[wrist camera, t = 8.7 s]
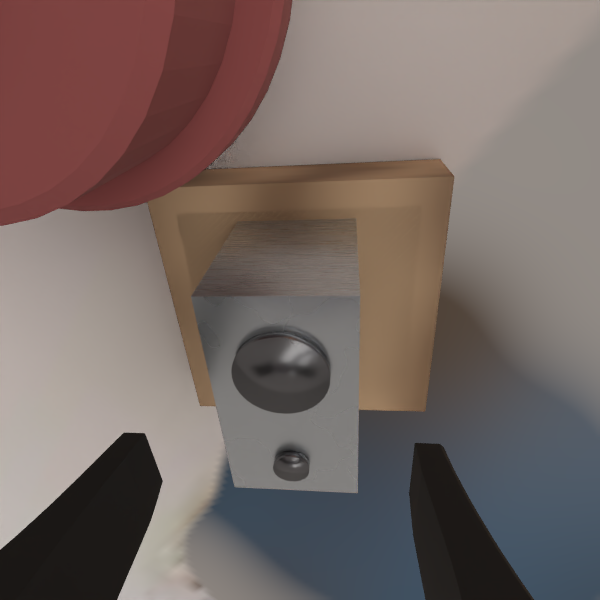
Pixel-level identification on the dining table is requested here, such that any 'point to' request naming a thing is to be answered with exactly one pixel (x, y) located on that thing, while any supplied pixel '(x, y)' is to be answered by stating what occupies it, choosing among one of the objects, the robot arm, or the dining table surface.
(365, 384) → the stand
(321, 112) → the dining table surface
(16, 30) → the mechanical component
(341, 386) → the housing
